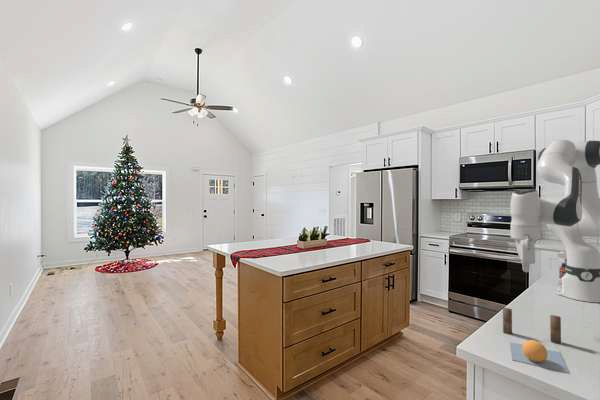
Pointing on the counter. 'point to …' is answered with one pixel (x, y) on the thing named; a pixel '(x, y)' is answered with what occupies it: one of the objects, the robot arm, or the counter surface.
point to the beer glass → (561, 258)
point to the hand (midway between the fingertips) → (525, 271)
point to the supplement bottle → (562, 270)
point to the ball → (534, 351)
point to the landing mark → (551, 362)
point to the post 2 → (555, 329)
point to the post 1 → (507, 321)
